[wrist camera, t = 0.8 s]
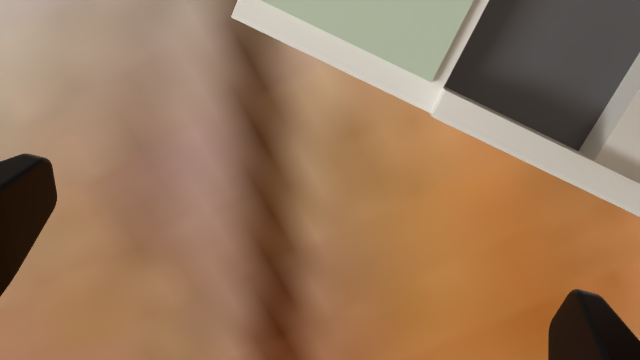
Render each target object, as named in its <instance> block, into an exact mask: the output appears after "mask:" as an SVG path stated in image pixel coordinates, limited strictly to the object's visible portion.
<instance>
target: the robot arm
mask: <svg viewBox="0 0 640 360" xmlns="http://www.w3.org/2000/svg"><path fill="white" fill-rule="evenodd" d="M56 201H57V191H56V186H55V180H54V174H53V168H52V164H51V162H50V161H49V160H48V159H46V158H44V157H40V156H36V155H32V154H21V155H18V156H15V157H12V158H10V159H7V160H4V161H1V162H0V296H1V295H2V294H3V292H4V291H5V289H6V288H7V287H8V285H9V284H10V282H11V281H12V280H13V278H14V276H15V275H16V273H17V272H18V270H19V268H20V267H21V265H22V263H23V261H24V260H25V258H26V256H27V255H28V253H29V251H30V249H31V248H32V246H33V244H34V243H35V241H36V239H37V237H38V236H39V234H40V232H41V231H42V229H43V227H44V225H45V224H46V222H47V220H48V218H49V217H50V215H51V213H52V212H53V210H54V208H55V205H56ZM548 360H640V341H639V340H638V338H637V337H636V336H635V335H634V334H633V333H632V331H631V330H630V329H629V328H628V327H627V326H626V324H625V323H624V322H623V321H622V320H621V319H620V317H619V316H618V315H617V314H616V313H615V312H614V310H613V309H612V308H611V307H610V306H609V305H608V303H607V302H606V301H605V300H604V299H603V298H602V297H601V296H600V295H598V294H595V293H591V292H587V291H583V290H579V289H575V290H572V291H571V292H570V293H569V294H568V295H567V297H566V299H565V300H564V302H563V303H562V305H561V306H560V308H559V309H558V311H557V313H556V314H555V316H554V317H553V319H552V321H551V324H550V327H549V347H548Z"/></svg>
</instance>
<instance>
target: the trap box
mask: <svg viewBox="0 0 640 360" xmlns="http://www.w3.org/2000/svg"><path fill="white" fill-rule="evenodd" d="M231 17H232V18H234V19H236V20H238V21H240V22H242V23H244V24H246V25H248V26H250V27H252V28H254V29H257V30H259V31H261V32H263V33H265V34H267V35H269V36H271V37H273V38H275V39H277V40H279V41H281V42H284V43H286V44H288V45H290V46H292V47H294V48H296V49H298V50H300V51H302V52H304V53H306V54H308V55H311V56H313V57H315V58H317V59H319V60H321V61H323V62H325V63H327V64H329V65H331V66H333V67H335V68H337V69H340V70H342V71H344V72H346V73H348V74H350V75H352V76H354V77H356V78H358V79H360V80H362V81H364V82H367V83H369V84H371V85H373V86H375V87H377V88H379V89H381V90H383V91H385V92H387V93H389V94H391V95H394V96H396V97H398V98H400V99H402V100H404V101H406V102H408V103H410V104H412V105H414V106H416V107H418V108H421V109H423V110H425V111H427V112H429V113H430V114H431V116H432V117H433V118H435V119H437V120H439V121H442V122H444V123H446V124H448V125H450V126H452V127H454V128H456V129H458V130H460V131H462V132H464V133H466V134H469V135H471V136H473V137H475V138H477V139H479V140H481V141H483V142H485V143H487V144H489V145H491V146H493V147H496V148H498V149H500V150H502V151H504V152H506V153H508V154H510V155H512V156H514V157H516V158H518V159H520V160H523V161H525V162H527V163H529V164H531V165H533V166H535V167H537V168H539V169H541V170H543V171H545V172H547V173H550V174H552V175H554V176H556V177H558V178H560V179H562V180H564V181H566V182H568V183H570V184H572V185H574V186H576V187H579V188H581V189H583V190H585V191H587V192H589V193H591V194H593V195H595V196H597V197H599V198H601V199H603V200H606V201H608V202H610V203H612V204H614V205H616V206H618V207H620V208H622V209H624V210H626V211H628V212H630V213H633V214H635V215H637V216H639V217H640V0H238V1H237V4H236V6H235V9H234V11H233V14H232V16H231Z"/></svg>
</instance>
